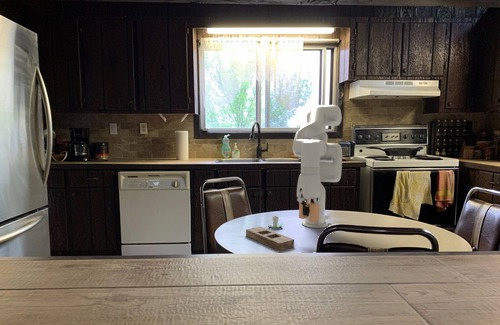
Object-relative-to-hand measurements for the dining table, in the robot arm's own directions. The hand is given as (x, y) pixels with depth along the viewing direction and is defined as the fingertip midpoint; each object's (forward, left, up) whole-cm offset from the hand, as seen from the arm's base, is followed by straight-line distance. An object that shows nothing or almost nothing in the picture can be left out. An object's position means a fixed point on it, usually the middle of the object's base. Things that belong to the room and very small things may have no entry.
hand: (308, 214), depth 139 cm
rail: (+13, -11, -12) cm, 20 cm away
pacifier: (-3, -25, -12) cm, 28 cm away
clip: (0, 0, -2) cm, 2 cm away
